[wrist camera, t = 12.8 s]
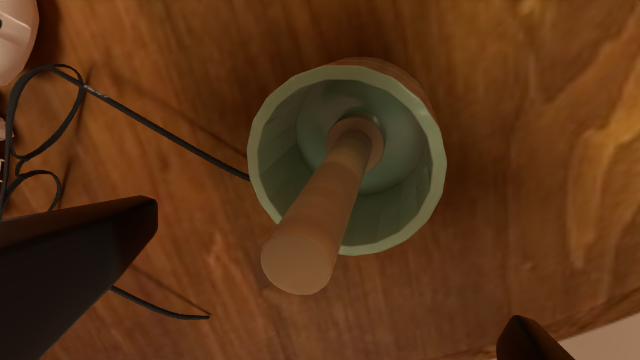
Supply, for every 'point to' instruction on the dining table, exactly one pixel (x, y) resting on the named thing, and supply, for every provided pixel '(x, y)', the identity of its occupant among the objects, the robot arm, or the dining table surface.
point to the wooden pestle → (323, 207)
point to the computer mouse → (16, 36)
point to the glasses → (16, 91)
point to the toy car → (2, 135)
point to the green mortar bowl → (309, 151)
